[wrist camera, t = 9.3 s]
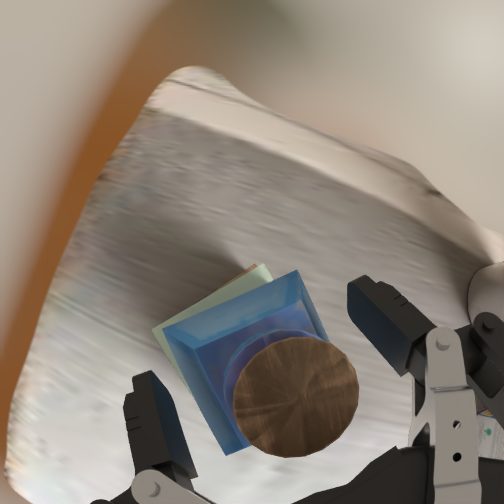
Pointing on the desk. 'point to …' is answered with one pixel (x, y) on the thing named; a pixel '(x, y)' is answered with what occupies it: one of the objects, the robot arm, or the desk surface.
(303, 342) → the perfume bottle
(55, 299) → the desk surface
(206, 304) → the tower top block
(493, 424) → the ink cartridge box
